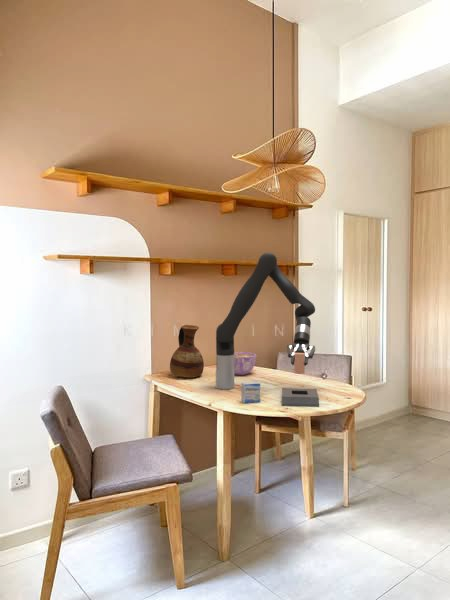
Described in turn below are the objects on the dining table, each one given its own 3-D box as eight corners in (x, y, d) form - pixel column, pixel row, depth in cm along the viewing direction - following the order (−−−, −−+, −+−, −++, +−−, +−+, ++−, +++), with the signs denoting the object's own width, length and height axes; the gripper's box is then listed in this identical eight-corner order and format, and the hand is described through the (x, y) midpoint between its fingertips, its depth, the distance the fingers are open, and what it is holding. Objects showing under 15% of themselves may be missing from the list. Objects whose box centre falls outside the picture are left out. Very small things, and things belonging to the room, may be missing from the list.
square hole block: (281, 405, 198) (281, 396, 198) (281, 396, 214) (281, 388, 213) (318, 406, 196) (318, 397, 196) (316, 397, 212) (316, 388, 211)
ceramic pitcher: (181, 381, 247) (180, 327, 246) (163, 375, 264) (163, 324, 263) (210, 377, 259) (210, 325, 258) (192, 371, 275) (191, 322, 274)
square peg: (294, 373, 209) (294, 354, 209) (294, 371, 213) (294, 352, 213) (304, 373, 208) (304, 354, 208) (303, 371, 213) (304, 352, 213)
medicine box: (244, 403, 201) (244, 384, 201) (241, 401, 206) (241, 382, 205) (260, 402, 203) (260, 383, 203) (257, 399, 208) (257, 381, 207)
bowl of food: (251, 378, 255) (251, 358, 254) (218, 376, 261) (218, 356, 261) (260, 371, 274) (260, 352, 273) (228, 369, 280) (228, 351, 280)
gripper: (286, 330, 219) (282, 359, 208) (316, 331, 215) (314, 360, 204) (288, 340, 225) (284, 368, 214) (317, 341, 221) (315, 369, 209)
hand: (299, 364), depth 209 cm, fingers closed on square peg, 5 cm apart
